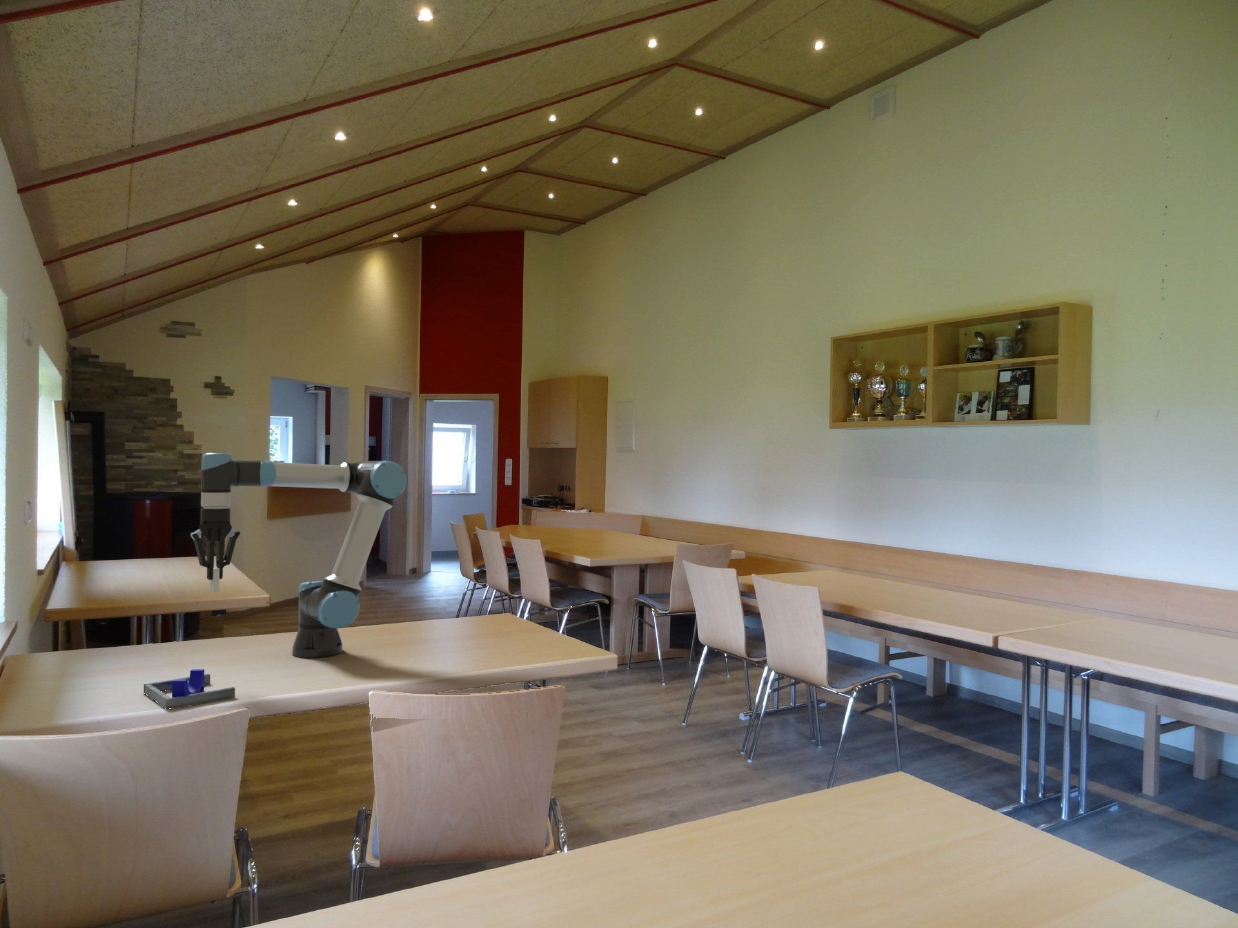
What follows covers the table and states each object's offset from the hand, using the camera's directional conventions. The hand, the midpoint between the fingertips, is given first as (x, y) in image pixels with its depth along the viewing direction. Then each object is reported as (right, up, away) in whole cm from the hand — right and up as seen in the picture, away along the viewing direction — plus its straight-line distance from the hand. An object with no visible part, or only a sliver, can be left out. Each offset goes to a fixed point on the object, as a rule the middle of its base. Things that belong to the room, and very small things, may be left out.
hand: (214, 590), depth 231 cm
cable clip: (+2, -25, -20) cm, 32 cm away
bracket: (+2, -24, -18) cm, 31 cm away
